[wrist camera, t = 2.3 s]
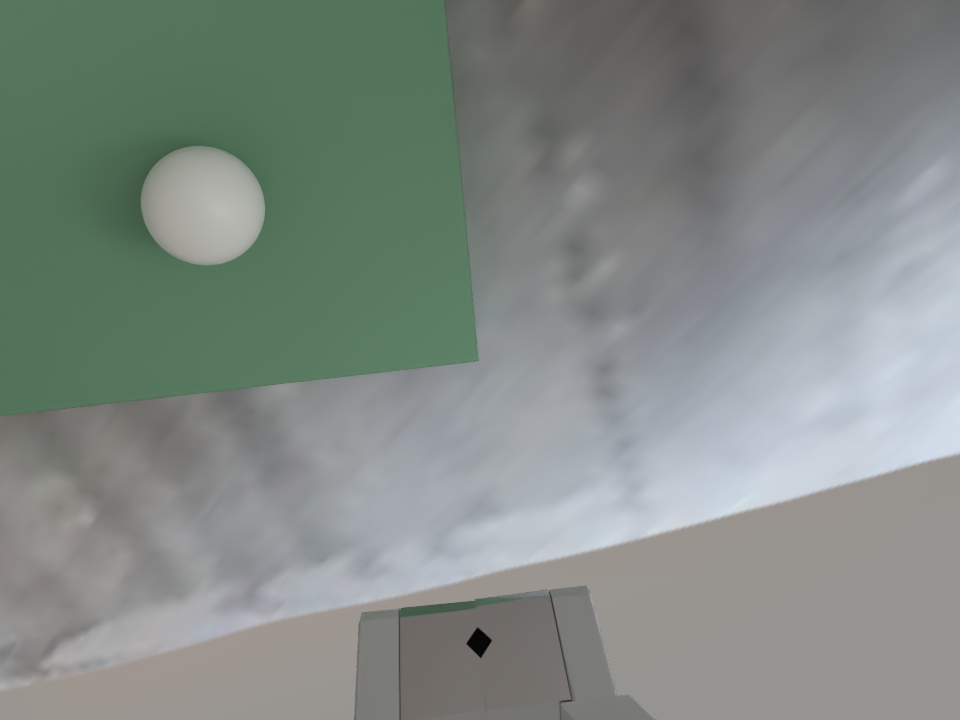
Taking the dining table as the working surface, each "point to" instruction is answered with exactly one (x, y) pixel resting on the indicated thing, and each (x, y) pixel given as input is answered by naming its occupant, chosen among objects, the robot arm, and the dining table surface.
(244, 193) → the ball
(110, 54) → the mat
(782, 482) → the dining table surface
